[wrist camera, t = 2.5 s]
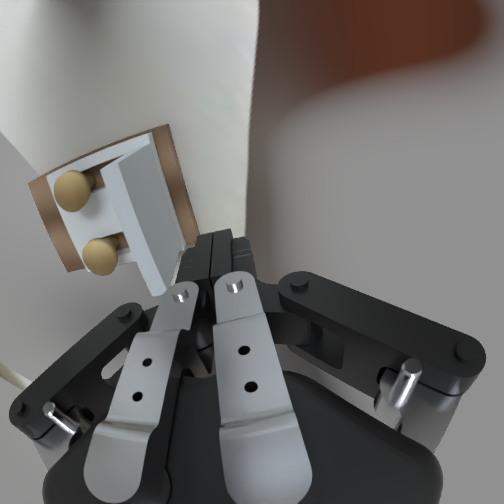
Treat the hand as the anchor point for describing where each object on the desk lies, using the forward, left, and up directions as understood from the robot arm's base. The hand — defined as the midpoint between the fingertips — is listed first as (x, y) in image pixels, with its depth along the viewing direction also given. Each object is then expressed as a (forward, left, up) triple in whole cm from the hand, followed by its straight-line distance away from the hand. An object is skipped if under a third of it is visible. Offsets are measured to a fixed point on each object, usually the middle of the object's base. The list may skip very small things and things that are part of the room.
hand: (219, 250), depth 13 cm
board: (0, -11, -13) cm, 17 cm away
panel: (0, -10, -12) cm, 15 cm away
